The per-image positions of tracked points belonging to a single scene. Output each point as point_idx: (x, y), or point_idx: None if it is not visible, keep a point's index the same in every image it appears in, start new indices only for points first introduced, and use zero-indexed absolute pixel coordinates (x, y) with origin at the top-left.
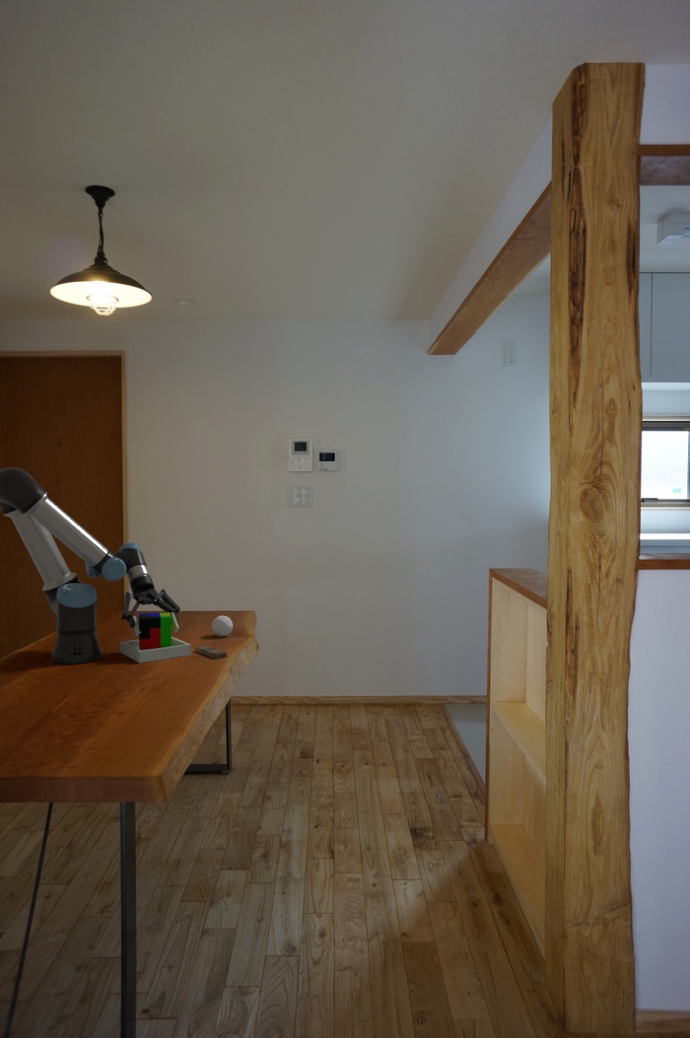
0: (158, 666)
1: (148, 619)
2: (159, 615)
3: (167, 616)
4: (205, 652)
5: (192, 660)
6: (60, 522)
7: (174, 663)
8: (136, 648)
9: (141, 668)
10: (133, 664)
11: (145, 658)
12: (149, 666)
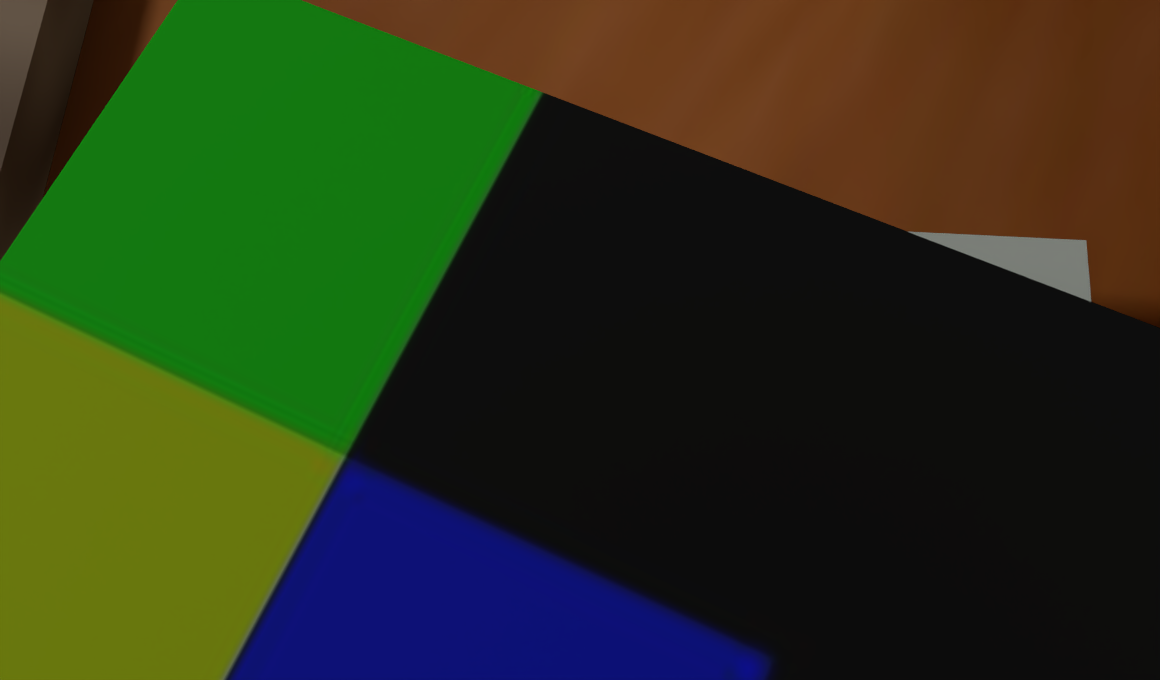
0: (861, 4)
1: (980, 289)
2: (301, 602)
3: (202, 178)
4: (32, 137)
5: (362, 12)
6: None
7: (623, 15)
8: None
9: (1092, 42)
10: (1123, 297)
11: None
12: (962, 69)
